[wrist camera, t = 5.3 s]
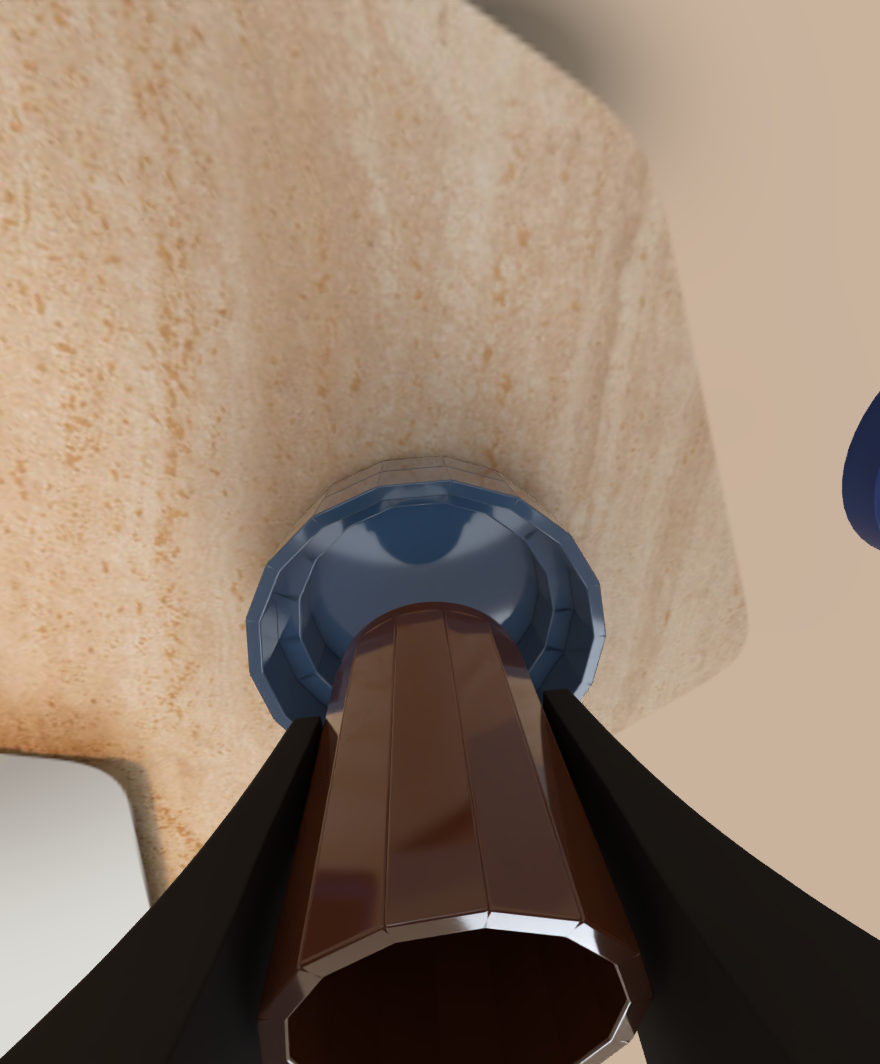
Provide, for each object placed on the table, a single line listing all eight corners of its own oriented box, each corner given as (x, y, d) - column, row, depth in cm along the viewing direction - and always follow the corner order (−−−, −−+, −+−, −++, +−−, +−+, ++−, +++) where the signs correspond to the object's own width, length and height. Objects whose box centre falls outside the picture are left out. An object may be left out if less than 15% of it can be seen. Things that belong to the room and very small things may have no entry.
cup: (538, 603, 12) (706, 902, 5) (506, 751, 14) (599, 1106, 7) (339, 593, 11) (244, 917, 5) (336, 749, 13) (266, 1132, 6)
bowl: (590, 466, 18) (646, 495, 14) (534, 706, 23) (563, 783, 18) (276, 438, 17) (232, 461, 12) (286, 701, 21) (256, 782, 17)
